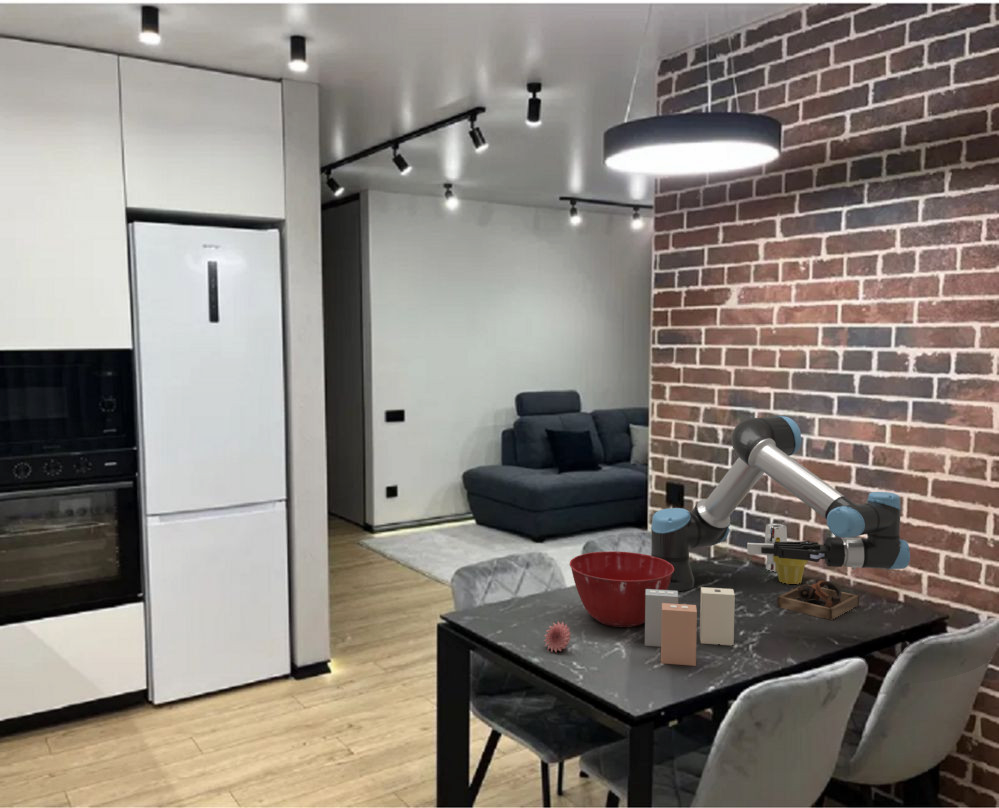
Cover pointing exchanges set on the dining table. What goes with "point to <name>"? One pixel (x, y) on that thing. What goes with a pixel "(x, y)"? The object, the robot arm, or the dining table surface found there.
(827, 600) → the pottery mug
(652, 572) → the mixing bowl
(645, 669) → the dining table surface
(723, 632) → the cream block
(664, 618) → the terracotta block
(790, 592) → the walnut frame
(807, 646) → the dining table surface
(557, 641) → the flower
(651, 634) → the grey block
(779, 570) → the plant pot
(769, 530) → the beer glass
